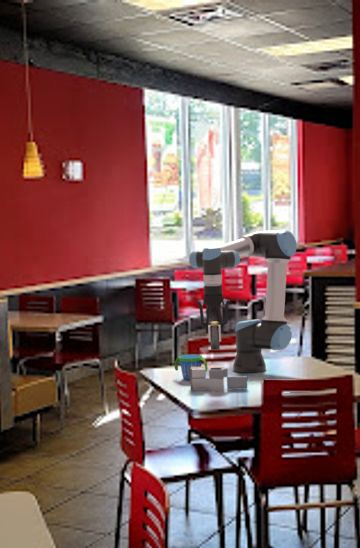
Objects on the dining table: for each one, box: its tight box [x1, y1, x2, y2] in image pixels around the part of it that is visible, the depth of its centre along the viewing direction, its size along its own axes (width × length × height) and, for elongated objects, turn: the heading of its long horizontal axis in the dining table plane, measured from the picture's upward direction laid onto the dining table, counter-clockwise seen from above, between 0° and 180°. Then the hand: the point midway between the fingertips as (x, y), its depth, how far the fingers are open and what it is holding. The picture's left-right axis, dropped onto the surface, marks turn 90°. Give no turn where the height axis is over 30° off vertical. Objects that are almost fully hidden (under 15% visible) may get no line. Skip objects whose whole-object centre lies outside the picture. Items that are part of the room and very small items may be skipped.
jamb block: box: [190, 366, 205, 391], centre depth 347 cm, size 5×6×9 cm
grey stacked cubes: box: [208, 366, 248, 390], centre depth 343 cm, size 16×6×8 cm, turn 87°
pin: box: [209, 321, 221, 351], centre depth 342 cm, size 4×4×11 cm
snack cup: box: [174, 353, 209, 381], centre depth 368 cm, size 16×10×10 cm
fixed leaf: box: [192, 369, 225, 392], centre depth 344 cm, size 6×13×9 cm, turn 86°
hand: (215, 341), depth 342 cm, fingers closed on pin, 3 cm apart
